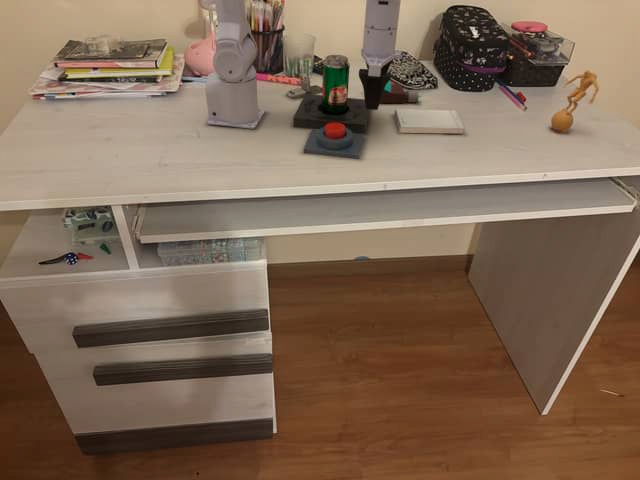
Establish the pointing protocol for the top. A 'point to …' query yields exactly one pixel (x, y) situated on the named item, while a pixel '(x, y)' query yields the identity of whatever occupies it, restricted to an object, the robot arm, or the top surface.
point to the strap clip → (303, 88)
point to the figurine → (574, 101)
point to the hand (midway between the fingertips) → (373, 100)
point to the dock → (314, 119)
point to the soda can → (335, 85)
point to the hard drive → (428, 121)
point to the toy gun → (398, 94)
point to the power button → (335, 130)
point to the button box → (334, 144)
